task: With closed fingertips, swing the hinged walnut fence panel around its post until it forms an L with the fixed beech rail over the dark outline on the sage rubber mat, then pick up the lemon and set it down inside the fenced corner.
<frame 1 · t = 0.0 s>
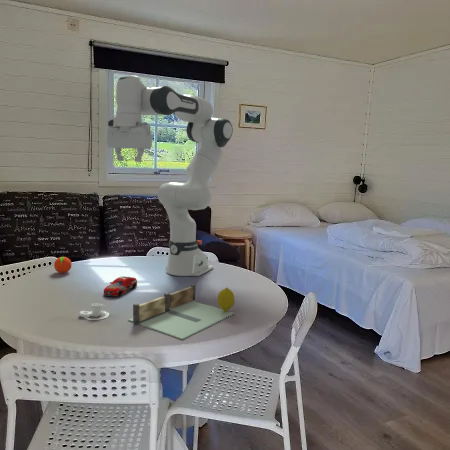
hand: (129, 161, 158), 48 cm above the table, tool pointing down, fingers open, 8 cm apart
race car: (120, 292, 162), on the table
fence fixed: (166, 312, 142), resting on layout mat
teacup and saucer: (91, 314, 140), on the table
lemon: (225, 312, 144), resting on layout mat
layout mat: (182, 317, 138), on the table
clementine: (62, 273, 183), on the table
fence panel: (182, 296, 148), point 3 cm above the table, hinge at 90.0°
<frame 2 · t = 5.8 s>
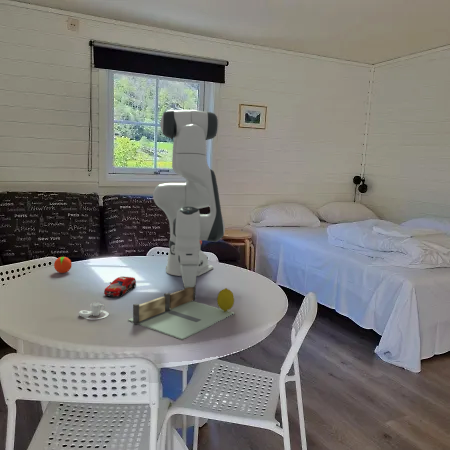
hand: (187, 292, 153), 3 cm above the table, tool pointing down, fingers closed
fence panel: (182, 296, 148), point 3 cm above the table, hinge at 90.0°, touching gripper
everything else where it was.
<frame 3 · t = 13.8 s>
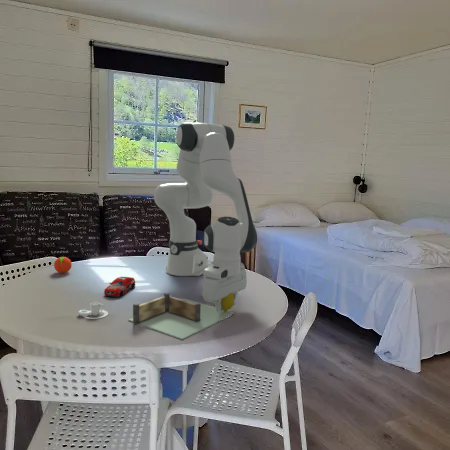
hand: (225, 308, 143), 2 cm above the table, tool pointing down, fingers closed on lemon, 5 cm apart
lemon: (225, 312, 144), resting on layout mat, touching gripper
fence panel: (184, 308, 137), point 3 cm above the table, hinge at -2.6°
everything else where it was.
when the fingers open (4 cm above the table, at t = 20.7 s): lemon drops 2 cm, resting on layout mat.
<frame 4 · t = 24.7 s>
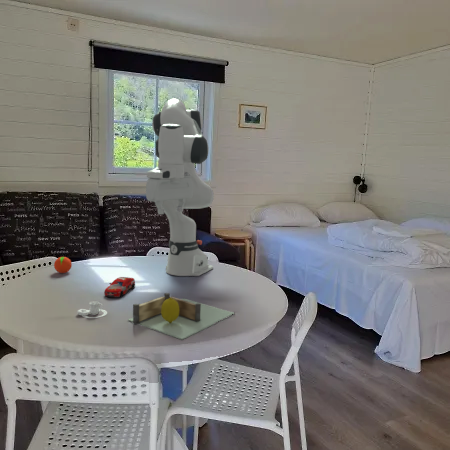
hand: (170, 212, 150), 31 cm above the table, tool pointing down, fingers open, 8 cm apart
lemon: (170, 323, 132), resting on layout mat
at the end: fence panel at -3° (first picture: +90°); lemon inside the target area (0.6 cm from its centre), resting on layout mat; the gripper is holding nothing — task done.
